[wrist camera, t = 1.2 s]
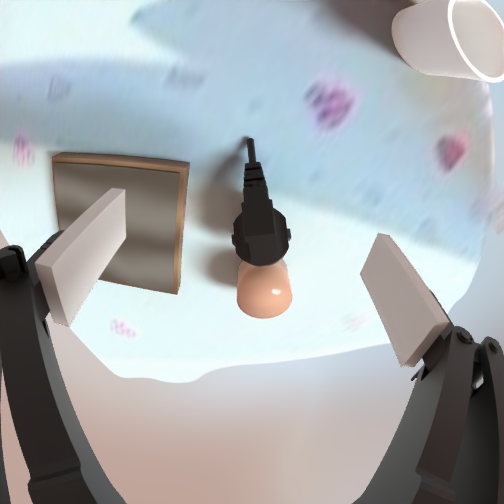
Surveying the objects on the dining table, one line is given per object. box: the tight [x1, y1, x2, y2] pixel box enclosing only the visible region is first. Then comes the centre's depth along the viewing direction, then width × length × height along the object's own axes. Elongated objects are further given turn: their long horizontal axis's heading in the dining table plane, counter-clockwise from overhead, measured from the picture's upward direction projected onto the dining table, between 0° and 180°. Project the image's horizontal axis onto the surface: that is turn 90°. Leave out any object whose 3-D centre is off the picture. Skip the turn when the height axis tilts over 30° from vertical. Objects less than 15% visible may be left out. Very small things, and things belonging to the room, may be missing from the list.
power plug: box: [232, 138, 291, 267], centre depth 28 cm, size 6×8×12 cm
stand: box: [52, 153, 190, 295], centre depth 30 cm, size 16×16×2 cm
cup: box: [391, 0, 504, 82], centre depth 14 cm, size 8×12×10 cm
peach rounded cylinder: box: [237, 259, 292, 319], centre depth 33 cm, size 6×6×5 cm
